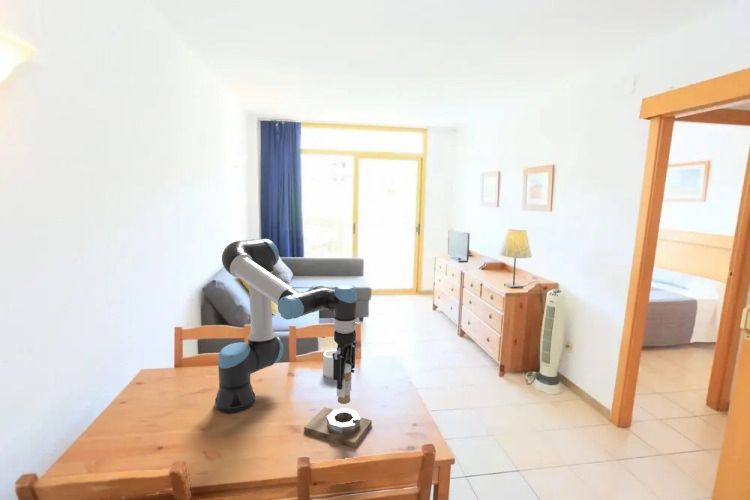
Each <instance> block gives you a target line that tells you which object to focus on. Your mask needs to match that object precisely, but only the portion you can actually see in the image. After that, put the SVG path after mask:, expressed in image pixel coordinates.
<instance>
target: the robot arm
mask: <svg viewBox="0 0 750 500" xmlns="http://www.w3.org/2000/svg"><path fill="white" fill-rule="evenodd" d="M279 260H280V252H279V248H278V247H277V245H276V244H275V243H274V241H272V240H270V239H269V238H256V239H254V238H253V239H245V240H237V241H236V240H235V241H233V242H231V243H229V244H228V245H227V246H226V247H225V248H224V250H223V251H222V254H221V264H222V265H223V268H224V270H226V272H227V273H229V274H230V276H232V277H235V278H240V279H241V280H243V281H244V282H245V283H246V284H248V293H249V294H248V298H249V311H250V313H249V314H250V329H251V331H250V334H249V335H248V336H247V342H242V341H238V342H234V343H230V344H227V345H226V346H224V347H222V348H221V350H220V351H219V353H218V357H217V366H218V390H217V393H216V397H215V399H214V408H215V410H216V411H217V412H219V413H221V414H229V415H230V414H238V413H243V412H245V411H247V410H249V409H250V408H252V407H253V406H254V405H255V404H256V393H255V391H254V390H253V389H254V388H253V385H252V382H251V375H252V374H254V373H255V372H256V373H257V372H258V371H261V370H263V369H265V368H268V367H272V366H273V365H274V364H277V363H278V362H279V361H280V360H281V358H282V357H283V354H284V344H283V342H282V340H281V338H280V337H279V336H277V332H275V331H274V329H273V328H274V327H273V313H272V312H273V310H272V302H273V303H274V304H275V305H277V310H278V311H277V312H278V314H280V317H281V318H283V319H284V320H292V319H297V318H300V317H304V316H306V315H309V314H312V313H316V312H318V311H322V310H328V311H331V312H334V313H333V315H334V316H333V318H334V319H333V322H334V323H333V330H334V331H333V340H334V342H335V343H336V344H337V346H336V351H337V352H336V353H333V355H332V356H333V378H332V379H333V380H334V381H336V397H337V398H338V397H342V398H344V397H345V379H344V371H345V363H347V364H350V365H351V374H350V379H351V380H352V378H353V377H352V375H353V373H355V368H356V346H357V341H356V340H357V335H356V334H357V331H356V328H357V324H358V322H357V300H358V296H357V295H358V294H357V288H356V287H355V286H354V285H351V284H338V285H336V286H335V287H334V288H331V287H327V286H324V285H312V286H310V288H308V290H306V291H301V292H299V291H298V290H296V289H295V288H293V287H292V286H290V285H289V284H288V283H286V282H284V281H283V280H281V278H278V277H277V276H276V275H274V274H273V273H274V271H275V270H274V266H275V265H277V264H278V262H279ZM351 391H352V383H351V384H350V392H351Z"/></svg>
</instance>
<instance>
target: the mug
mask: <svg viewBox="0 0 750 500" xmlns="http://www.w3.org/2000/svg"><path fill="white" fill-rule="evenodd" d="M336 352H337V350H336V349H335V350H334V349H333V350H331V349H330V350H325V351H324V352H323V354H322V375H323V376H325V377H326V378H332V379H333V356H332V355H333V353H336Z"/></svg>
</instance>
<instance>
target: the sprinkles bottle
mask: <svg viewBox="0 0 750 500" xmlns="http://www.w3.org/2000/svg"><path fill="white" fill-rule="evenodd" d="M351 373H352V372H351V365H350V364H347V363H345V371H344V379H345V397H344V398H342V397H338V396H337V402H338V404H341V405H347V404H349V403H350V402H351V391H350V384H351V385H352V379H350V374H351Z"/></svg>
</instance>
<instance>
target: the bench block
mask: <svg viewBox="0 0 750 500" xmlns="http://www.w3.org/2000/svg"><path fill="white" fill-rule="evenodd" d="M333 410H334V409H332V408H328V407H323V408H322V409H321V410H320V411H319V412H318V413H316V415H315V416H314V417H312V419H311V420H310V421H309V422H308V423H307V424H305V425H304V426H303V432H304V433H306V434H308V435H312V436H314V437H319V438H322V439H325V440H327V441H331V442H333V443H338V444H341V445H344V446H347V447H351V448H354V449H355V448H357V446H358V444H359V443H360V442H361V441H362V439H363V437H364V436H365V435H366V434H367V432H368V431H369V429H370V428H371V426H372V423H373V422H372V420H371V419H369V418H364V417H361V416H359V417H360V426H359V427H358V429H357V430H356V431H355V432H354V433H350V434H346V435H339V434H336V433H333V432H330V430H329V428H328V426H327V416H328V415H329V414H330V413H331V412H332V411H333ZM337 422H340V423H346V422H350V421H348V420H345V419H344V420H339V421H337Z"/></svg>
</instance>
